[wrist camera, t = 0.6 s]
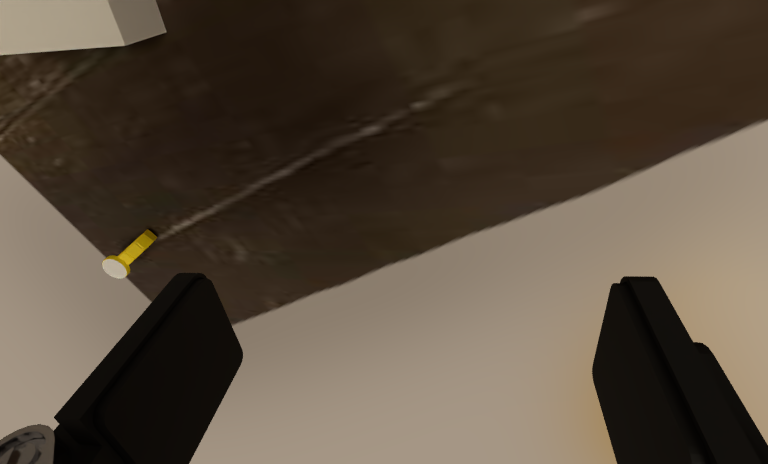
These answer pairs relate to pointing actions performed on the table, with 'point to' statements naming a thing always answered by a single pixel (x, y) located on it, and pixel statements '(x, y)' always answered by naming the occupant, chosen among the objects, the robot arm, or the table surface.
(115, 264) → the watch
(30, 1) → the button console
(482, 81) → the table surface
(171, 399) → the robot arm
